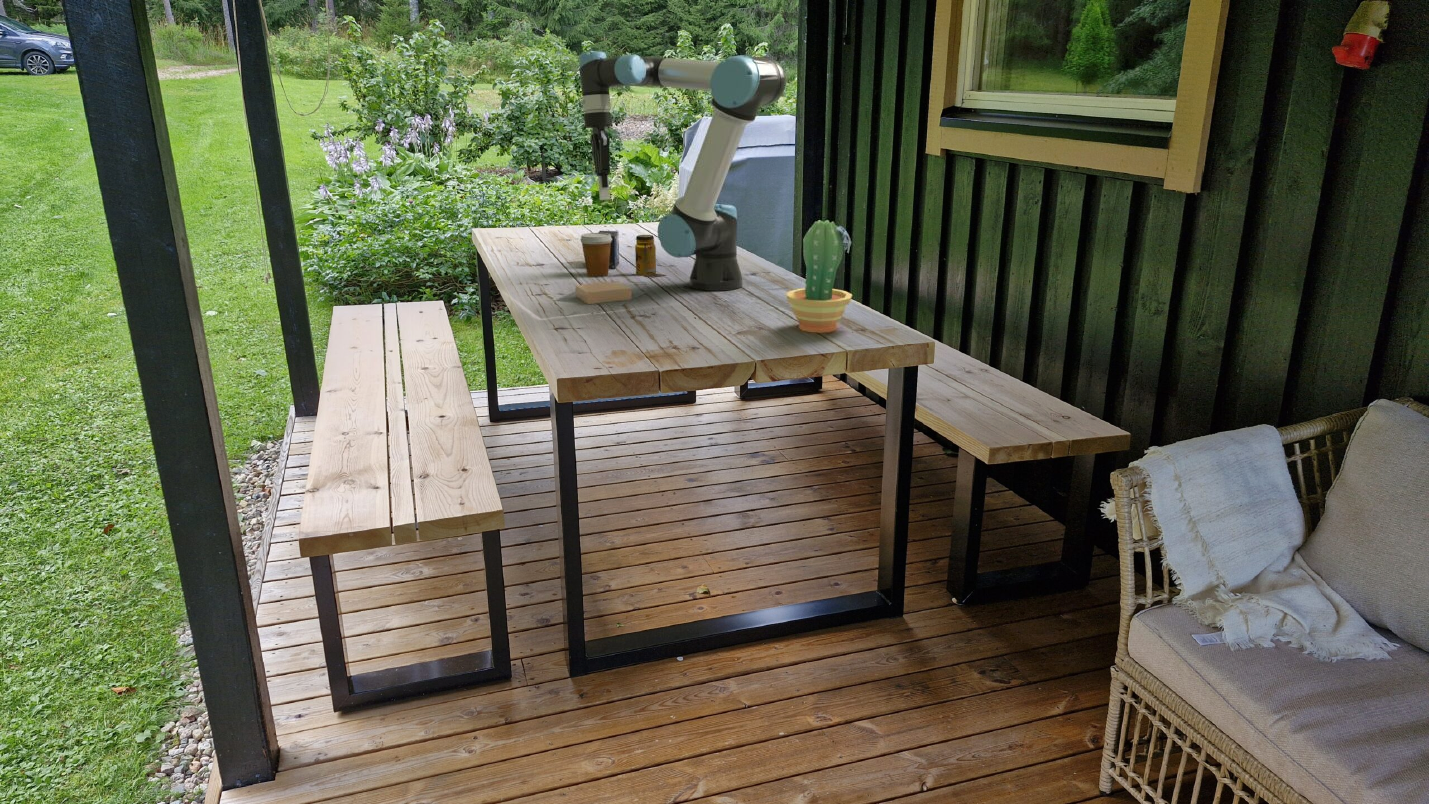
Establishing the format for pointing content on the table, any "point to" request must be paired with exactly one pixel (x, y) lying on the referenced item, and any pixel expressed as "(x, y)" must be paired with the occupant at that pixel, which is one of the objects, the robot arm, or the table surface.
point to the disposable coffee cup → (596, 253)
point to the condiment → (646, 256)
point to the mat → (573, 298)
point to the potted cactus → (821, 279)
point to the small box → (613, 249)
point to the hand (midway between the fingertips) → (605, 199)
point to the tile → (603, 292)
